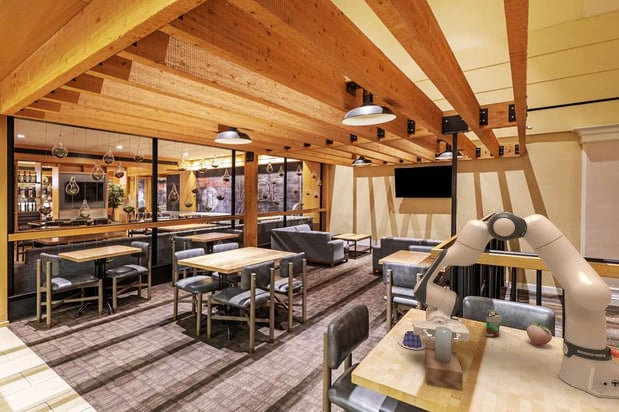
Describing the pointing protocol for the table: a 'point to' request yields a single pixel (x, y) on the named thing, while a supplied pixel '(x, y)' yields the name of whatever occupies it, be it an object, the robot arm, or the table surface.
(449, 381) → the walnut block
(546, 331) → the decorative fruit
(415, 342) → the pudding
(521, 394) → the table surface
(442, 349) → the metal cylinder
